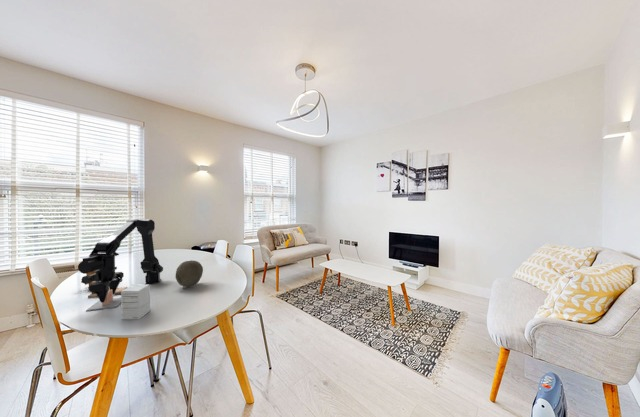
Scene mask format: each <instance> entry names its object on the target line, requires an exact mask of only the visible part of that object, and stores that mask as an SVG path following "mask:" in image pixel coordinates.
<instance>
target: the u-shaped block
mask: <svg viewBox="0 0 640 417" xmlns="http://www.w3.org/2000/svg"><path fill="white" fill-rule="evenodd" d="M113 298H114V295H113V290H112V289H111V290H109V291H108V294H107V296H106V299H105V301H104V302H102V306H104V305H108V304H109V302H110V301H113Z"/></svg>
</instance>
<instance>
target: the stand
mask: <svg viewBox="0 0 640 417" xmlns="http://www.w3.org/2000/svg"><path fill="white" fill-rule="evenodd" d="M95 282H96V281H93V282H91V285H92V284H93V283H95ZM99 282H101V281H99ZM122 282H123V279H122V280H121V282H120V283H122ZM126 288H128V286H123V287H117V289H116V291H115V293H114V294H113V296H114V295H116V296H117V295H118V296H119V295H121V291H122V290H124V289H126ZM109 290H110V288H109ZM87 298H88V299H90V298H98V296H97V294H96V293H94V292H90V294H89V295H87Z"/></svg>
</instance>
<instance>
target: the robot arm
mask: <svg viewBox="0 0 640 417" xmlns="http://www.w3.org/2000/svg"><path fill="white" fill-rule="evenodd" d="M135 229H137V232H138V233H139V234H140V235H141V242H142V248H143V260H142V261H140V262H139V263H140V269H141V270H142V272H143V274H145V277H144V278H145V279H144V280H145V284H148V285H150V284H151V285H152V284H158V283H159V282H161V280H162V278H161V273H162V272H163V271H164V267H163V266H162V265H161V264H160V262H159V259H158V258H157V256H156V255H155V248H154V247H155V246H154V239H153V233H154V231H155V229H156V228H155V221H154V220H153V219H136V218H135V219H132V218H131V219H127V220H126V222H125V223H124V224H123V225H122V226H121V227H120V228H118V229H117V230H116V231H115V232H113V233H112V235H110V236H108V237H105V238H102V239H100V240H99V241H98V242H96V244H95V245H94V248H93V249H92V251H91V252H90V254H89V255H88V257H83V258H82V261H80V262H79V264H78V265H77V268H78V271H79V273H81V274H84V276H82V277H81V282H80V283H81V284H84V285H85V286H86V285H88V287H87V292H89V293H91V292H94V293H96V294H97V296H98V297H97V298H98V299H99V300H100V302H101V303H102V302H104V301H105V299H106V296H107V294H108V291H109V289H110V290H111V289H112V290H113V294H114V293H115V291H116V289H117V288H119V285H120V283H122V282H121V280H122V281H123V278H124V272H123V271H116V270H117V269H118V266H116V257H117V256H119V255H120V253H118V252H117V251H118V249H119V248H120V246H121V243H122V241H123V240H124V239H126V237H128V235H130V233H132V232H133V231H134V230H135ZM96 270H97V271H96ZM93 271H96V273H94V274H92V275H85V274H86V273H89V272H93ZM93 281H96V282H95V283H93V284H92V285H90V286H89V284H88V283H91V282H93ZM99 281H101V282H99ZM145 284H144V285H145ZM99 300H98V301H99Z"/></svg>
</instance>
